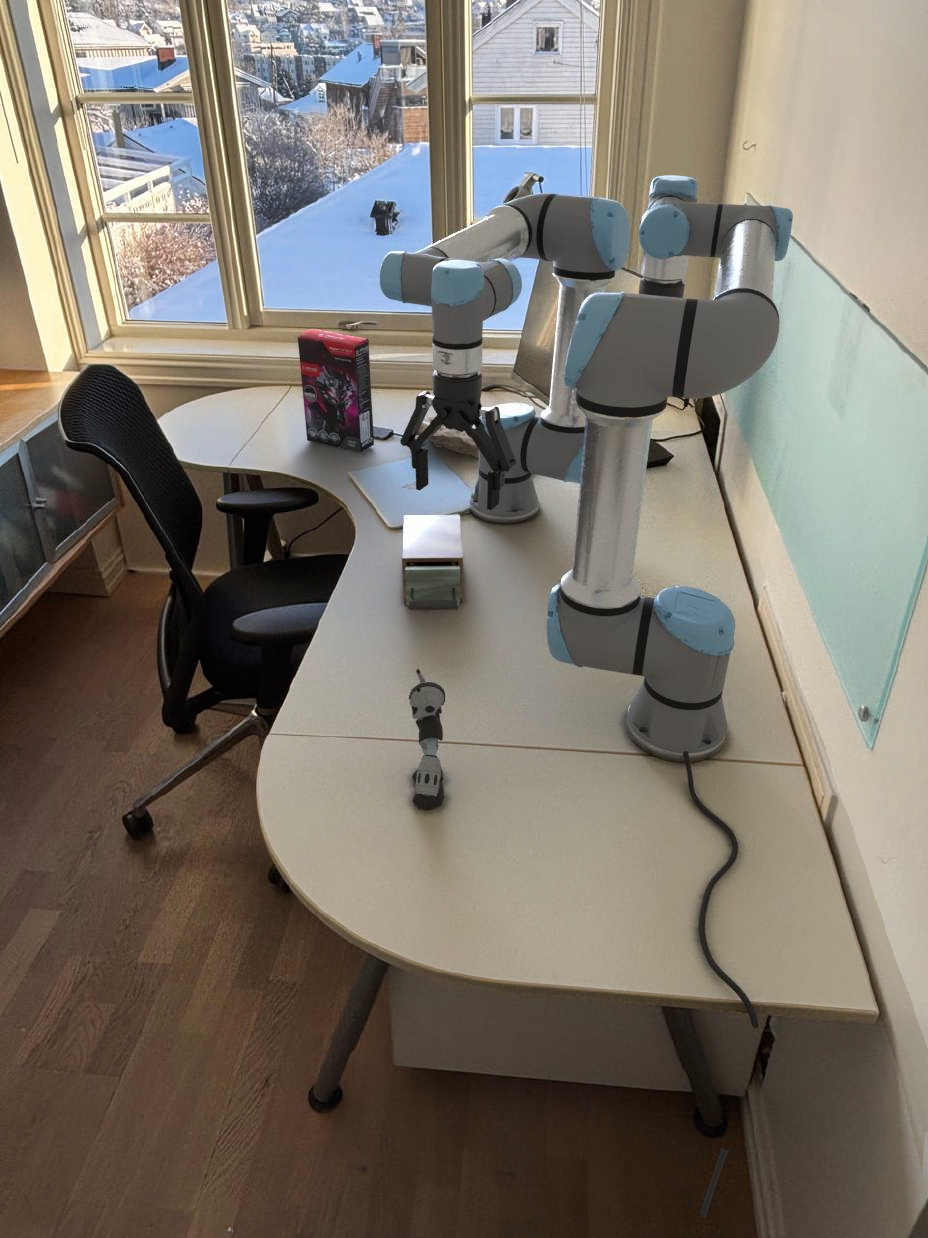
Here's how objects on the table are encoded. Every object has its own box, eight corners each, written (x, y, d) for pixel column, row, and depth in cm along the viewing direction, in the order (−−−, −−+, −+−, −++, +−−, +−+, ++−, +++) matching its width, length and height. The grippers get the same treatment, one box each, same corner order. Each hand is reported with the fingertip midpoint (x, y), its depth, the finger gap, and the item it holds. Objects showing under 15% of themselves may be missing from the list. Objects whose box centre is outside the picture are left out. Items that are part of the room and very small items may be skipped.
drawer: (460, 624, 165) (461, 587, 161) (405, 625, 165) (404, 588, 161) (457, 562, 184) (457, 527, 179) (407, 562, 183) (406, 528, 179)
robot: (448, 840, 124) (447, 726, 113) (411, 841, 124) (407, 727, 112) (443, 742, 140) (442, 634, 129) (411, 743, 140) (408, 635, 129)
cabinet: (462, 602, 173) (462, 557, 168) (403, 602, 173) (402, 558, 167) (459, 557, 187) (459, 514, 182) (405, 557, 187) (403, 515, 181)
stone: (396, 441, 228) (401, 417, 225) (415, 432, 241) (420, 409, 239) (476, 465, 224) (482, 442, 222) (491, 455, 237) (496, 432, 235)
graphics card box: (304, 441, 235) (294, 334, 220) (320, 432, 240) (311, 327, 225) (361, 455, 228) (354, 345, 213) (376, 445, 233) (371, 337, 218)
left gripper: (375, 362, 142) (381, 487, 154) (518, 392, 132) (513, 524, 144) (402, 349, 148) (406, 471, 160) (542, 377, 137) (535, 505, 149)
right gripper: (739, 278, 155) (719, 400, 167) (592, 267, 160) (582, 386, 172) (738, 289, 149) (717, 414, 161) (585, 277, 154) (575, 400, 166)
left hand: (457, 496), depth 152 cm, fingers open, 13 cm apart
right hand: (647, 400), depth 166 cm, fingers open, 13 cm apart
